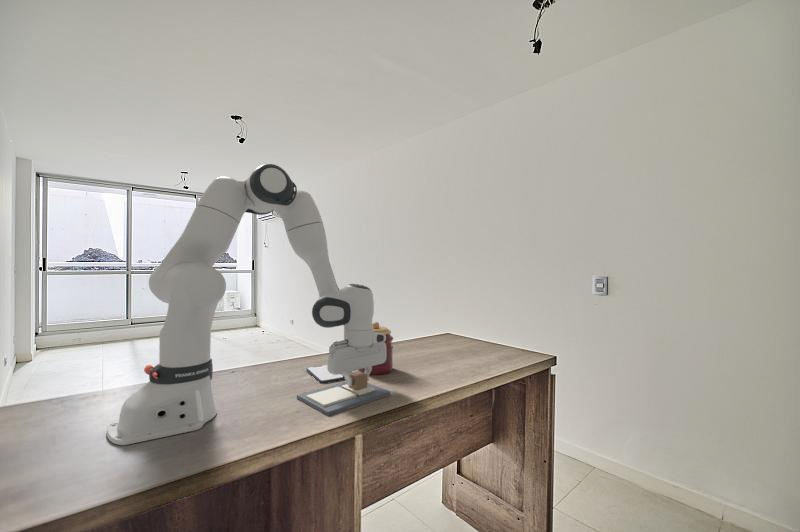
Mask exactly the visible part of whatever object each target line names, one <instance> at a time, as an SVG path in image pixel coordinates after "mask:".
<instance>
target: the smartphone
mask: <svg viewBox="0 0 800 532" xmlns="http://www.w3.org/2000/svg"><path fill="white" fill-rule="evenodd" d="M327 366H328V364H323V365H318V366H316V365H315V366H310V367H307V368H305V369H306V371H307V372H308V375H309V376H311V377H312V376H313V377H314V378H315V379H314V378H313V377H312V378H313V379H314V380H316V381H317V382H318V381H319V382H320V383H319V382H318V383H319V384H321V383H325V384H329V383H328V382H331V383H335V382H334V381H336V382H340V381H339V380H342V381H344V380H345V379H346V377H345V375H344V374H343V373H342V374H338V375H333V374H331V373H329V371H328V370H327ZM306 371H305V372H306ZM307 372H306V373H307Z"/></svg>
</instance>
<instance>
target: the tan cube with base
mask: <svg viewBox="0 0 800 532" xmlns="http://www.w3.org/2000/svg"><path fill="white" fill-rule="evenodd" d="M350 376H351V378H352V379H354V385H352V386H348V385H347V384H346V385H342V386H341V388H344V389H346V390H348V391H350V392H353V393H355V394H357V395H362V394H366V393H369V392H372V391H375V389H374V388H372V387H369V386H367V383H368V381H367V374H365V373H362V372H360V371H355V372H352V374H351V375H350Z"/></svg>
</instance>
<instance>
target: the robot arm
mask: <svg viewBox="0 0 800 532" xmlns="http://www.w3.org/2000/svg"><path fill="white" fill-rule="evenodd" d="M251 172H252V173H251V174H250V176H249V177H247V179H246V180H243V181H239V180H236V179H235V178H232V177H229V176H220V177H219V176H218V177H216V178H215V179H213V180H212V181H211V183H209V185H208V186H207V188H206V189H205V191H204V192H203V193H202V195H201V197H200V199H199V200H198V202H197V204H196V206H195V207H194V210H193V212H192V214H191V216H190V218H189V220H188V222H187V223H186V224H187V225H186V226H185V228H184V230H183V232H182V234H181V235H180V237H179V238H178V240H177V241H176V242H175V244H174V245H173V246H172V247H171V249H170V250H169V252H168V253H167V254H166V255H165V257H164V258H163V260H162V261H161V263H160V264H159V266H157V267H156V268H155V269H154V270H153V271H152V272H151V274H150V275H149V277H148V287H149V290H150V291H151V293H152V294H153V296H154V297H156V298H157V299H158V300H159V301H161V302H162V303H165V304H168V305H167V312H166V317H165V320H164V324H163V327H162V328H161V329H160V331H159V346H158V347H159V360H158V361H159V363H158V364H156V365H155V366H153V365H152V364H147V365H145V366H144V367H143V368H144V369H143V372H144V373H145V374H146V375H149V376H148V378H149V381H148V382H147V383H145V384H144V385H143V386H141V388H140V389H138V390H137V391H135V392H134V393H133V394H132V395H130V396H129V397H127V398H126V400H124V401H123V404H122V406H121V409H120V413H119V417H118V418H119V419H116V420H113V421H112V422H111V423H110V424H109V425H108V426H107V431H106V436H107V439H108V441H110V442H111V443H113V444H115V445H119V446H126V445H127V446H128V445H131V444H136V443H142V442H146V441H151V440H152V441H153V440H155V439H160V438H164V437H165V438H166V437H169V436H174V435H179V434H183V433H189V432H194V431H199V430H200V429H201V428H203V426H204V425H205V424H206V423H207V422H209V421H210V420H212V419H214V417H216V416H217V413H218V410H217V408H216V405H215V401H214V396H213V394H214V393H213V389H212V380H213V375H214V373H213V372H214V369H213V368H214V367H213V366H214V365H213V359H212V358H211V343H212V342H211V338H212V337H211V334H212V333H211V332H212V326H213V320H214V318H215V315H216V314H215V313H216V310H217V306H218V303H219V302H221V300H222V299H223V298H224V296H225V294H226V290H227V282H226V279H225V277H224V275H223V274H222V272H220V271H219V270H217V269H216V268H214V267H213V266H214V265H215V264H216V263H217V261H218V260H219V259H220V258H221V257H222V256H224V255H225V254H226V253H227V251H228V250H229V248H230V245H231V244H232V241H233V239H234V237H235V234H236V233H237V230H238V228H239V226H240V223H241V221H242V218H243V217H244V215H245V213H250V214H253V215H259V216H264V215H265V216H266V215H268V214H270V213H272V212H273V211H274V212H276V213H277V214H278V216H279V217H280V218H281V220H282V222H283V225H284V228H285V229H284V230H285V232H286V236H287V239H288V242H289V244H290V246H291V248H292V250H293V252H294V253H295V254H296V256H297V257H299V258H300V259H301V260H303V262H304V263H305V264H306V265H307V266H308V267H309V269H310V271H311V274H312V277H313V280H314V282H315V286H316V289H317V291H318V299H317V300H316V301H315V303H314V304H313V306H312V309H311V315H312V319H313V320H314V322H315V323H316V325H318V326H319V327H321V328H325V329H326V328H328V329H331V328H336V327H339V326H343V327H344V328H343V340H339V341H333V342H332V344H331V345H330V346H329V349H328V359H327V365H328V366H327V370H328V371H329V373H331V374H333V375H338V374H342V375H343V376H344V377H345V379H346V382H347V385H348V386H352V385H354V379H352V378H351V376H350V375H351V374H352V373H353V372H354V371H358V369H362V368H364V369H365V372H364V373H365V374H367V382H369V379H370V377H369V376H370V375H371V374H370V372H371V370H372V366H375V365H379V364H383V363H384V362H385V361H386V354H387V352H386V344H385V342H384V341H385V340H386V335H384V334H381V333H377V332H375V331H373V323H374V322H373V317H374V313H375V312H374V309H375V308H374V306H375V305H374V303H375V302H374V294H373V291H372V289H371V288H369V287H368V286H366V285H362V284H358V283H349V284H347V285H346V286H345V287H343V288H341V289H340V288H339V286H338V284H337V281H336V278H335V277H336V276H335V274H334V272H333V269H332V264H331V262H330V256H329V250H328V240H327V234H326V229H325V225H324V222H323V219H322V216H321V214H320V211H319V208H318V206H317V204H316V202H315V200H314V199H313V197H312V195H311V194H310V193H309V192H307V191H304V190H298V187H297V185H296V184H295V182H294V181H293V180H292V179H291V178H290V176H289V174H288V173H287V172H286V171H285V169H284V168H283V167H280V166H279V165H278V164H273V163H266V164H261V165H259V166H257V168H255V169H254V170H253V171H251Z"/></svg>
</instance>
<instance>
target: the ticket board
mask: <svg viewBox="0 0 800 532" xmlns="http://www.w3.org/2000/svg"><path fill="white" fill-rule="evenodd" d="M346 384H347V381H343V382H340V383H336V384H332V385H329V386H326V387H321V388H317V389H314V390H311V391H307V392H303V393H299V394H296V399H297V400H299V401H300V400H301V402H302V401H303V402H302V403H304V404H306V405H308V406H309V407H312V409H315V410H317V411H318V412H321V413H322V414H324V415H325V416H327V417H329V416H331V415H334V414H338V413H341V412H343V411H344V412H345V411H347V410H349V409H353V408H355V407H358V406H361V405H364V404H367V403H370V402H373V401H376V400H380V399H383V398H385V397H388V396H390V395H391V391H390V390H387V389H384V388H382V387H379V386H377V385H374V384H372V383H369V382H367V386H369V387H372V388H374V389H375V391H372V392H369V393H366V394H362V395H357V394H355V393H353V392H350V391H348V390H346V389H344V388H341V386H342V385H346Z"/></svg>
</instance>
